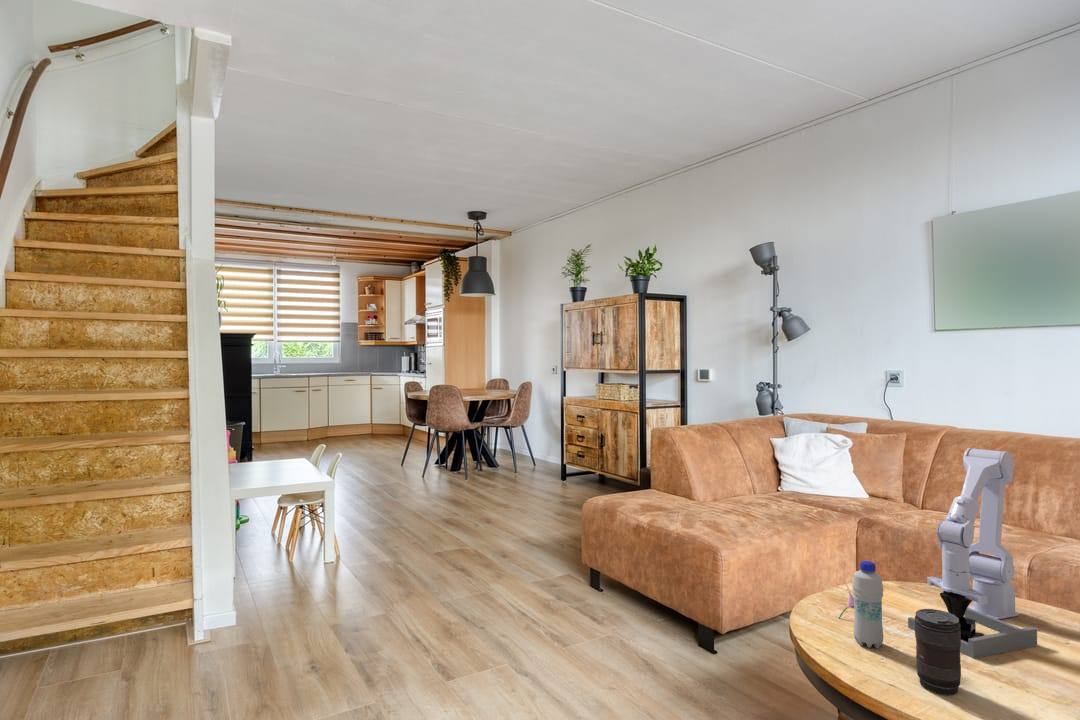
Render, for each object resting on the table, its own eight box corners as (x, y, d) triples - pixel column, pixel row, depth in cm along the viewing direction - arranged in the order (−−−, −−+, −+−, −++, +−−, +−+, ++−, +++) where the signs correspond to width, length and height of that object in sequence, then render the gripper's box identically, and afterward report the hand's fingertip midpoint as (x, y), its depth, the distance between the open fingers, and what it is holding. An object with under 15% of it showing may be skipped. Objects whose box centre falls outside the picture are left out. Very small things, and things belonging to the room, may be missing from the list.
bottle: (883, 640, 148) (881, 558, 148) (885, 652, 142) (884, 567, 142) (852, 635, 151) (851, 555, 151) (853, 647, 145) (852, 563, 145)
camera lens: (906, 678, 131) (905, 608, 131) (941, 676, 131) (940, 607, 131) (934, 699, 123) (933, 624, 123) (971, 696, 123) (970, 623, 123)
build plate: (957, 627, 157) (957, 609, 157) (991, 636, 151) (991, 618, 151) (942, 641, 149) (942, 622, 149) (977, 652, 143) (977, 632, 143)
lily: (863, 637, 153) (882, 604, 153) (818, 607, 160) (836, 576, 160) (869, 635, 162) (887, 603, 162) (826, 607, 169) (843, 577, 169)
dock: (967, 616, 161) (967, 601, 161) (1037, 645, 145) (1036, 628, 145) (908, 627, 155) (907, 611, 155) (973, 658, 139) (973, 641, 139)
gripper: (918, 561, 160) (918, 613, 159) (971, 580, 146) (972, 637, 146) (938, 558, 162) (939, 609, 161) (993, 577, 148) (994, 632, 148)
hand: (956, 622), depth 154 cm, fingers closed
